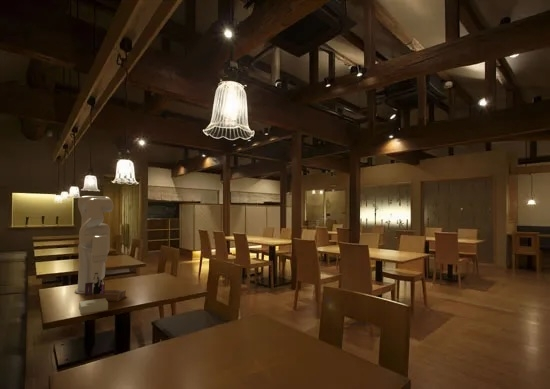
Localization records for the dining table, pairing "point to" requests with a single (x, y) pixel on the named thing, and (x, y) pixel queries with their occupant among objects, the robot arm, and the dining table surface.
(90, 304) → the sage block
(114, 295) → the walnut block
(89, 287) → the purple printed box
